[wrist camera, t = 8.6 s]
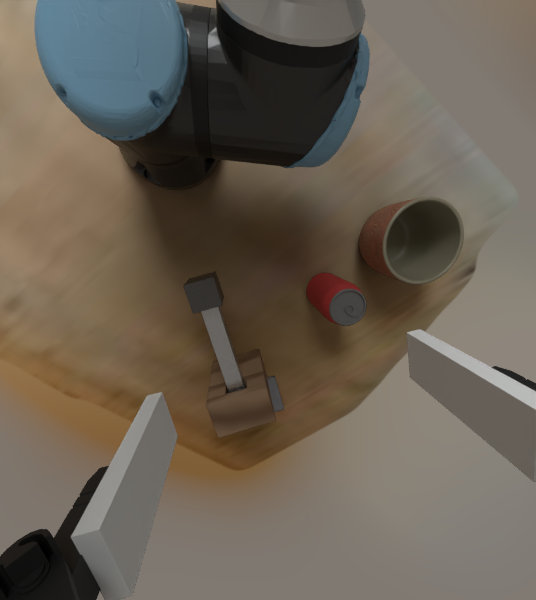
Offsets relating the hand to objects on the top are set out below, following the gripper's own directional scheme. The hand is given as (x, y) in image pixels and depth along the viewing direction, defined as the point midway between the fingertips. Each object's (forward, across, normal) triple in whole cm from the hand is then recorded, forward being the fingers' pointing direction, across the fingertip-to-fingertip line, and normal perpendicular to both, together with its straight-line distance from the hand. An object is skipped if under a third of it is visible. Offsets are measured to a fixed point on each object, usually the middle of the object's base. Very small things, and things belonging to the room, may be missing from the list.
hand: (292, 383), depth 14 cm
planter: (+36, +25, +1) cm, 44 cm away
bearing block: (+36, -6, -17) cm, 40 cm away
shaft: (+28, -7, -8) cm, 30 cm away
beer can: (+36, +12, -5) cm, 38 cm away
